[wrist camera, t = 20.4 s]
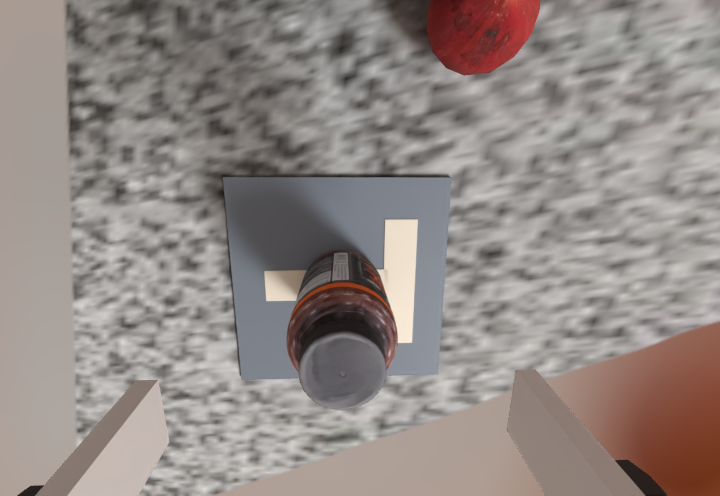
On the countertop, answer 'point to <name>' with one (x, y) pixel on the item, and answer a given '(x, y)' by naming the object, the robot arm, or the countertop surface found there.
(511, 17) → the onion
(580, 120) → the countertop surface
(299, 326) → the supplement bottle
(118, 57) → the countertop surface
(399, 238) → the letter card
